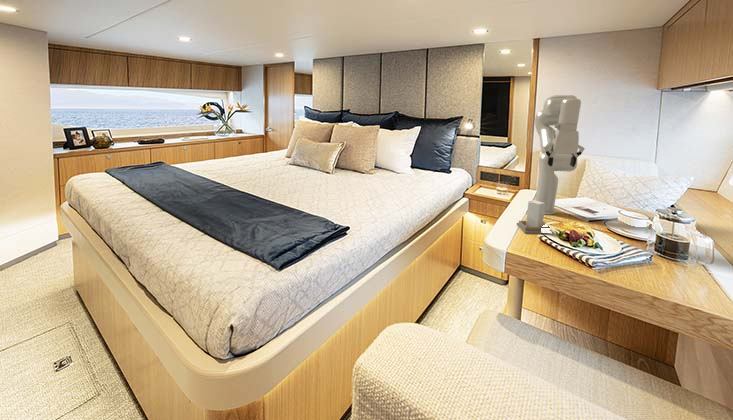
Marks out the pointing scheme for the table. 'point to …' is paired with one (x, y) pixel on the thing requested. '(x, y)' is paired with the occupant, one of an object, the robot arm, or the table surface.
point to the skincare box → (535, 214)
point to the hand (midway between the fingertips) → (561, 166)
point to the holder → (530, 228)
